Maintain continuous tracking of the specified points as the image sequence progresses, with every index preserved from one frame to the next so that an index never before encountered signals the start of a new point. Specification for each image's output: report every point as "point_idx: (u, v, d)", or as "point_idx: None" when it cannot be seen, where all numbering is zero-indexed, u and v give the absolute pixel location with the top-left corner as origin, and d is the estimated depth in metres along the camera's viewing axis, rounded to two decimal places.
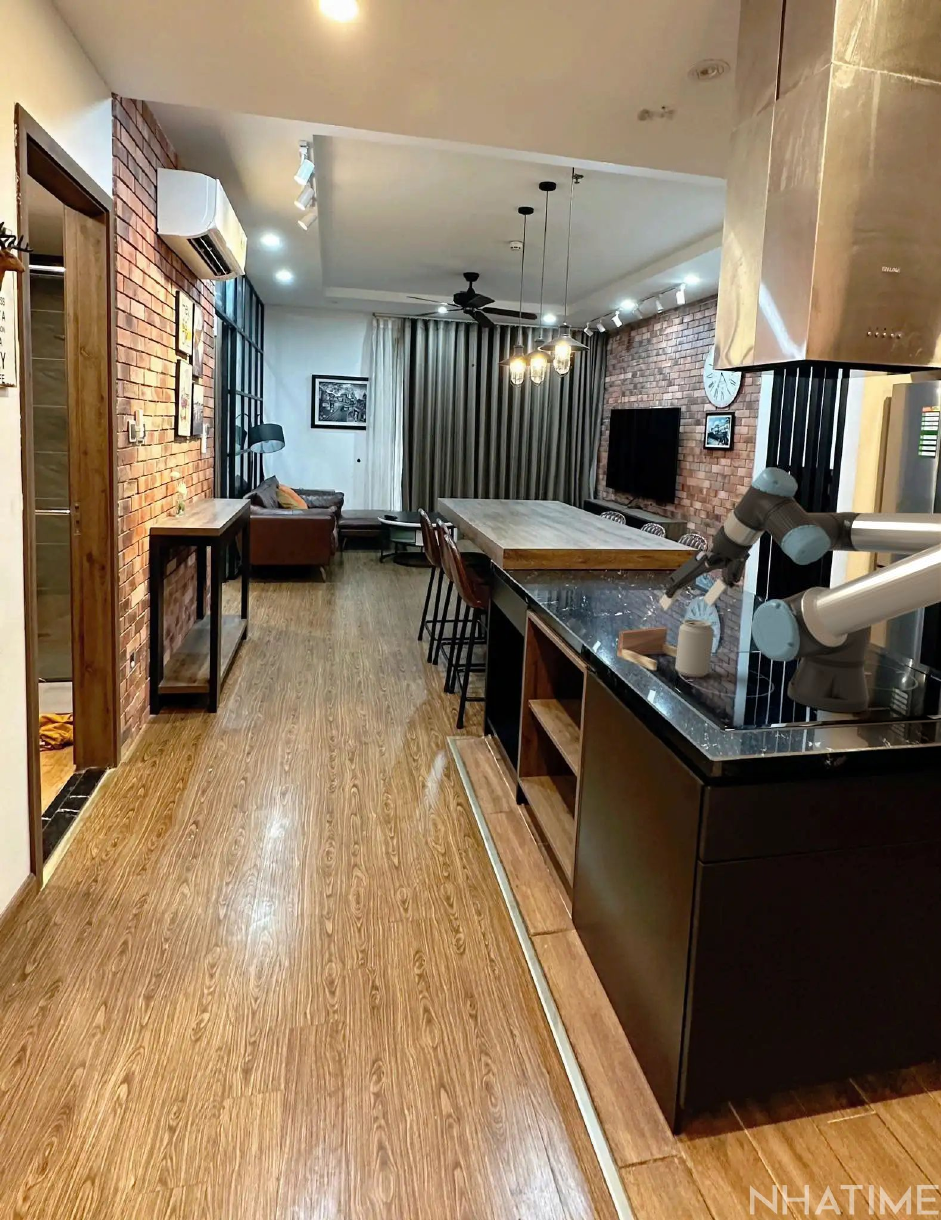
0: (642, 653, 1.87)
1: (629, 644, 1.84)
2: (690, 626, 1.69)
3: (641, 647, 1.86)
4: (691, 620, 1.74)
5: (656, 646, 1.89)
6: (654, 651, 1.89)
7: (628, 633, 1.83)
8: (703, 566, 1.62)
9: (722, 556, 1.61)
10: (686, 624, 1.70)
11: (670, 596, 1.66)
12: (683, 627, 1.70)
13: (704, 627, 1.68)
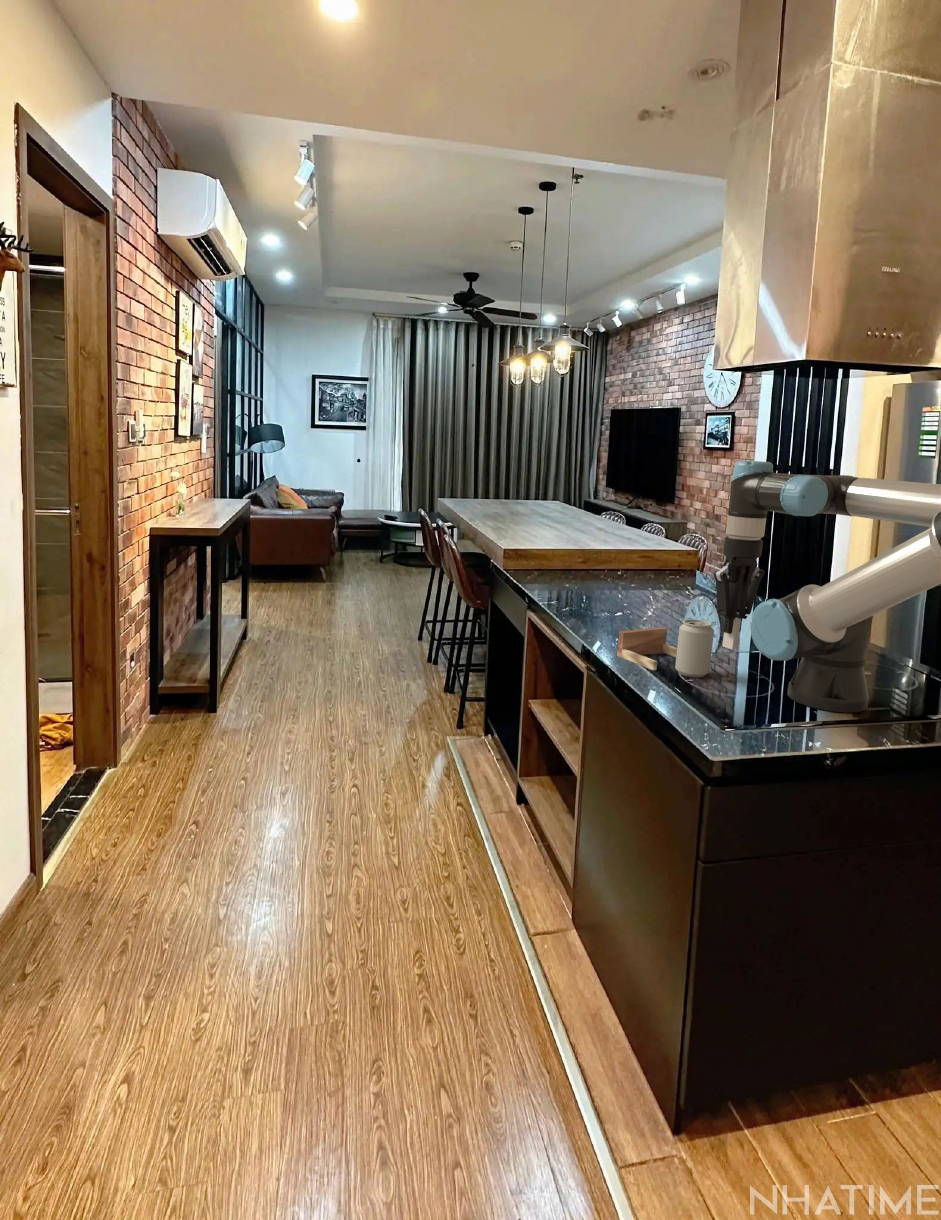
0: (642, 653, 1.87)
1: (629, 644, 1.84)
2: (690, 626, 1.69)
3: (641, 647, 1.86)
4: (691, 620, 1.74)
5: (656, 646, 1.89)
6: (654, 651, 1.89)
7: (628, 633, 1.83)
8: (733, 585, 1.59)
9: (737, 559, 1.57)
10: (686, 624, 1.70)
11: (729, 630, 1.61)
12: (683, 627, 1.70)
13: (704, 627, 1.68)
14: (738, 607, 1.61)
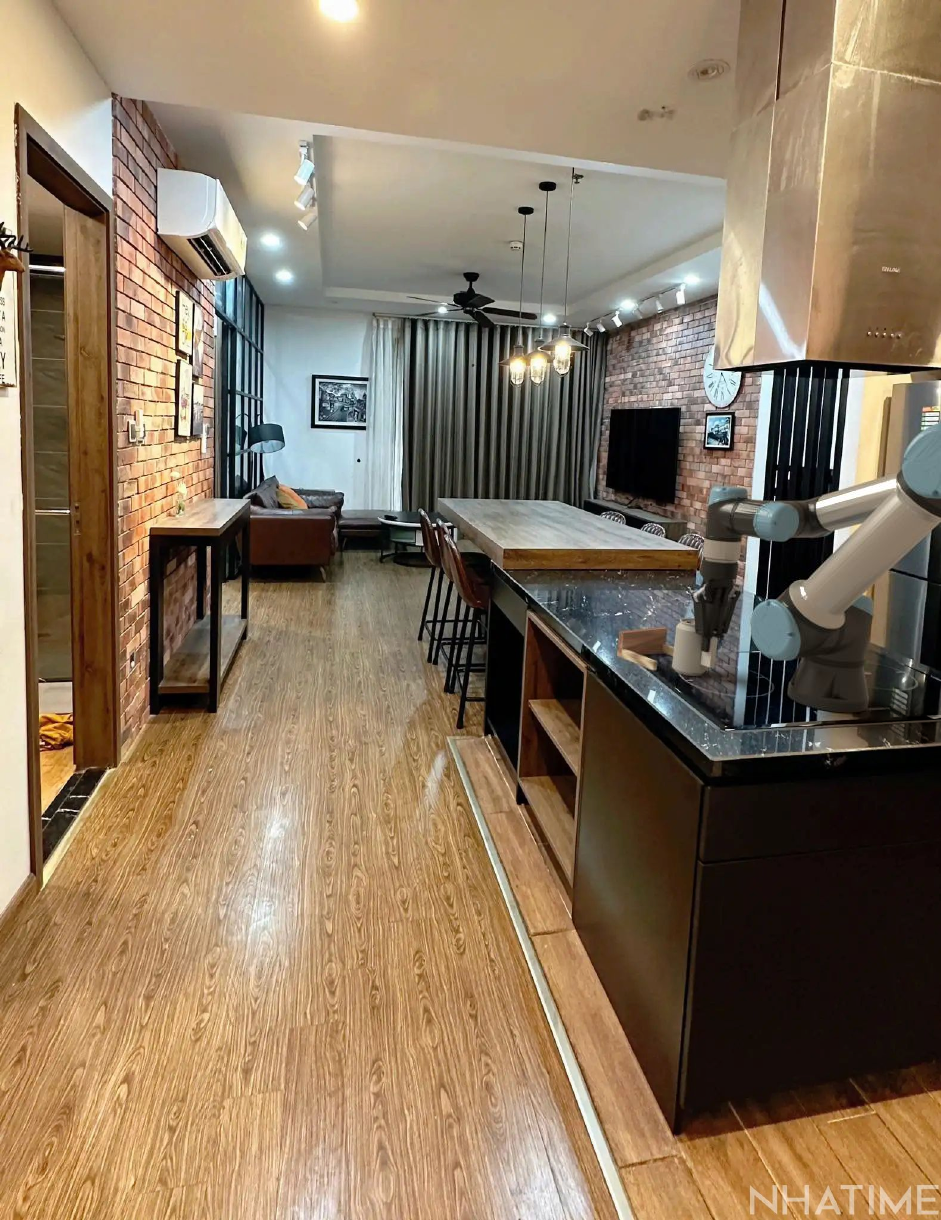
0: (642, 653, 1.87)
1: (629, 644, 1.84)
2: (687, 625, 1.70)
3: (641, 647, 1.86)
4: (688, 619, 1.74)
5: (656, 646, 1.89)
6: (654, 651, 1.89)
7: (628, 633, 1.83)
8: (710, 606, 1.65)
9: (714, 581, 1.63)
10: (683, 623, 1.71)
11: (707, 649, 1.67)
12: (680, 626, 1.71)
13: None
14: (715, 627, 1.67)
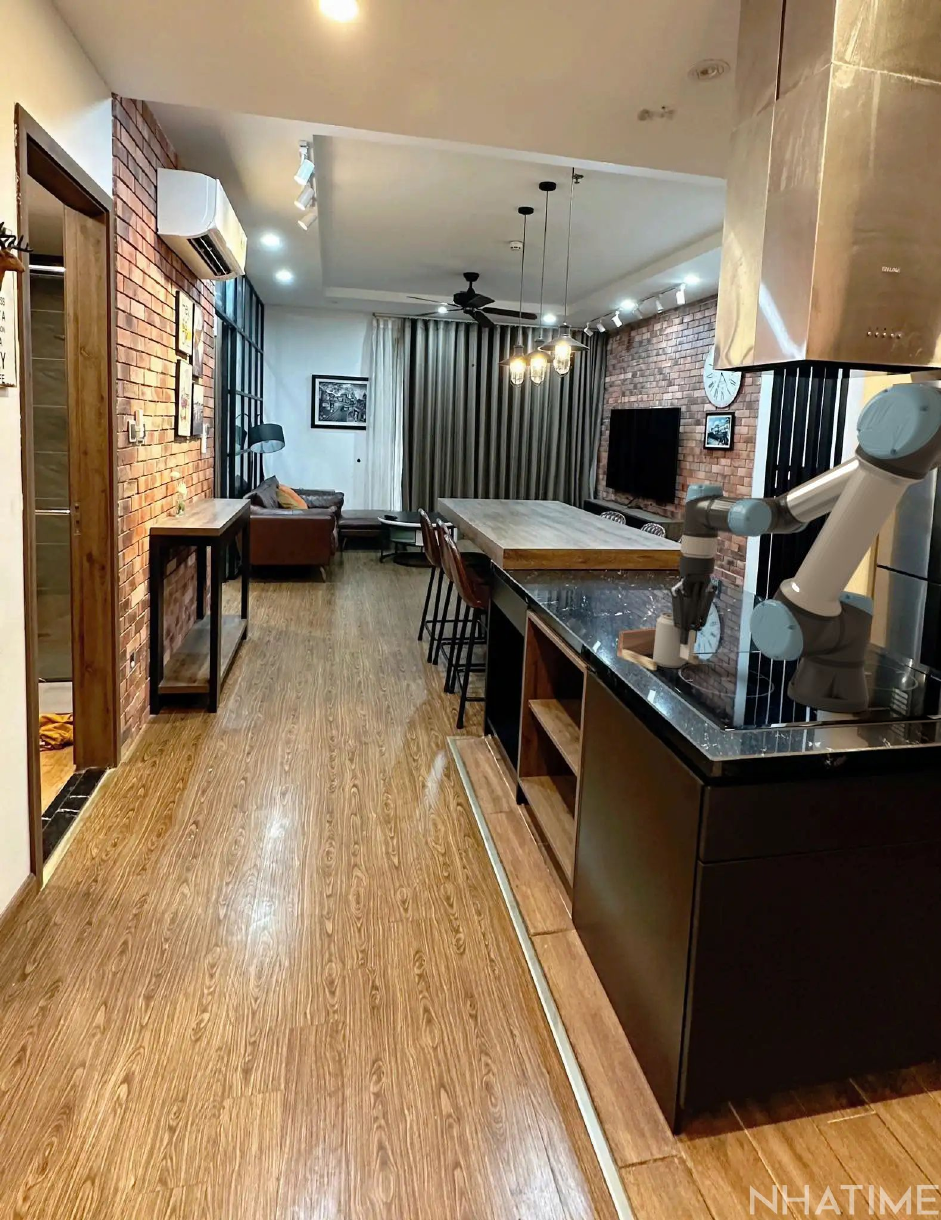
0: (642, 653, 1.87)
1: (629, 644, 1.84)
2: (666, 618, 1.75)
3: (641, 647, 1.86)
4: (669, 613, 1.80)
5: None
6: None
7: (628, 633, 1.83)
8: (688, 600, 1.70)
9: (691, 575, 1.68)
10: (662, 616, 1.76)
11: (685, 642, 1.72)
12: (660, 619, 1.77)
13: None
14: (693, 620, 1.73)
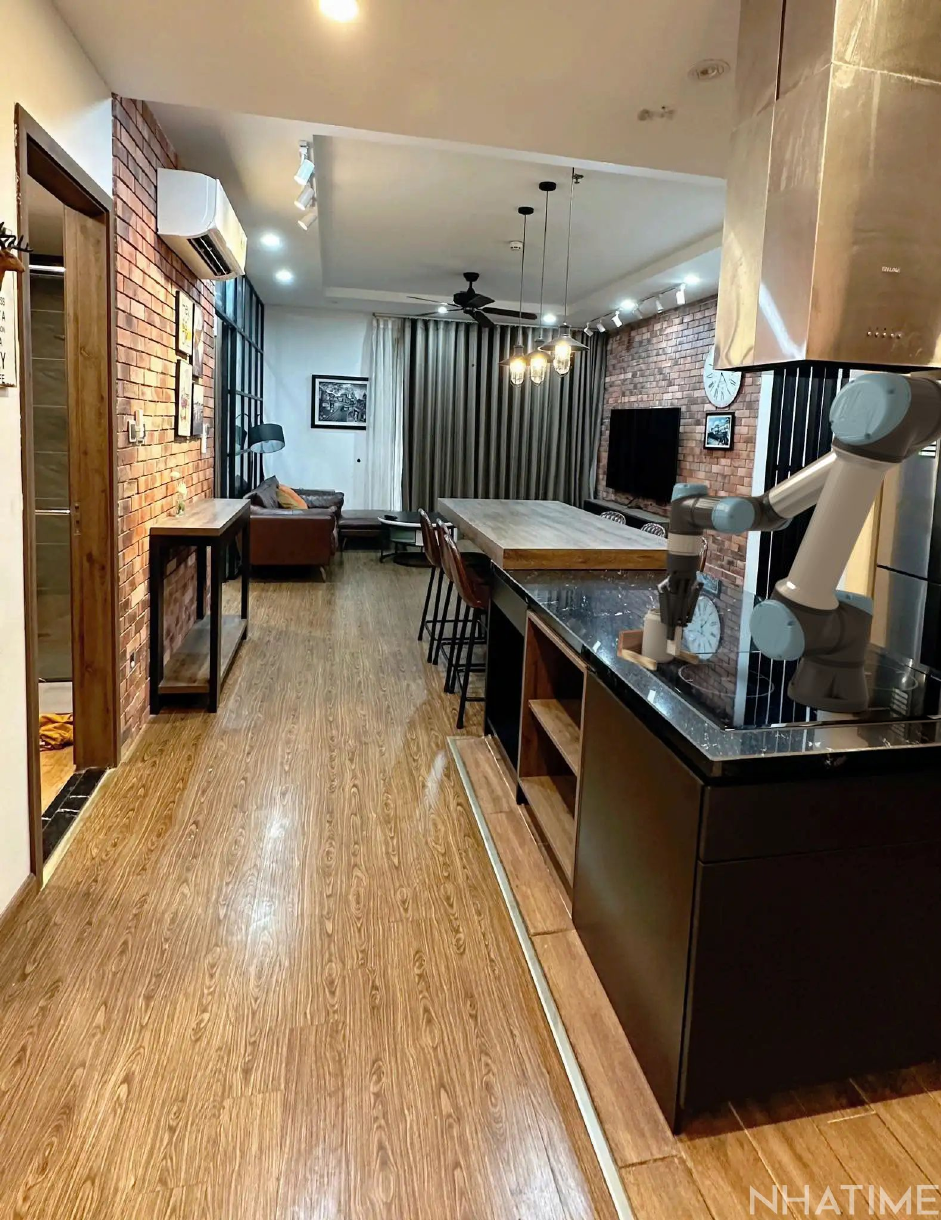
0: None
1: (629, 644, 1.84)
2: (653, 614, 1.79)
3: (641, 647, 1.86)
4: (657, 609, 1.83)
5: None
6: None
7: (628, 633, 1.83)
8: (674, 596, 1.74)
9: (677, 572, 1.72)
10: (650, 612, 1.80)
11: (672, 638, 1.76)
12: (647, 615, 1.81)
13: None
14: (680, 616, 1.76)
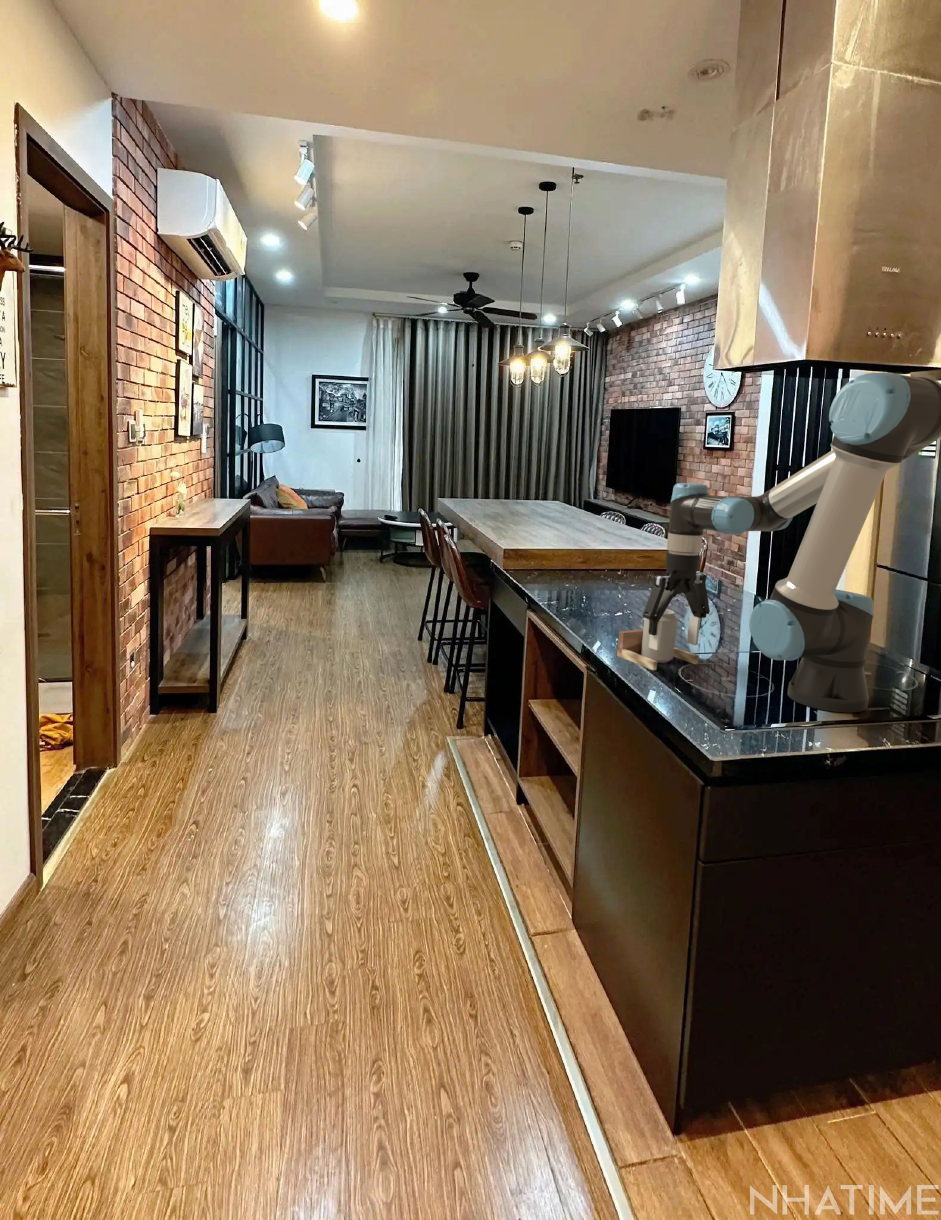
0: None
1: (629, 644, 1.84)
2: None
3: (641, 647, 1.86)
4: None
5: None
6: None
7: (628, 633, 1.83)
8: (668, 593, 1.73)
9: (679, 575, 1.73)
10: None
11: (654, 632, 1.73)
12: None
13: (666, 615, 1.78)
14: (695, 610, 1.79)
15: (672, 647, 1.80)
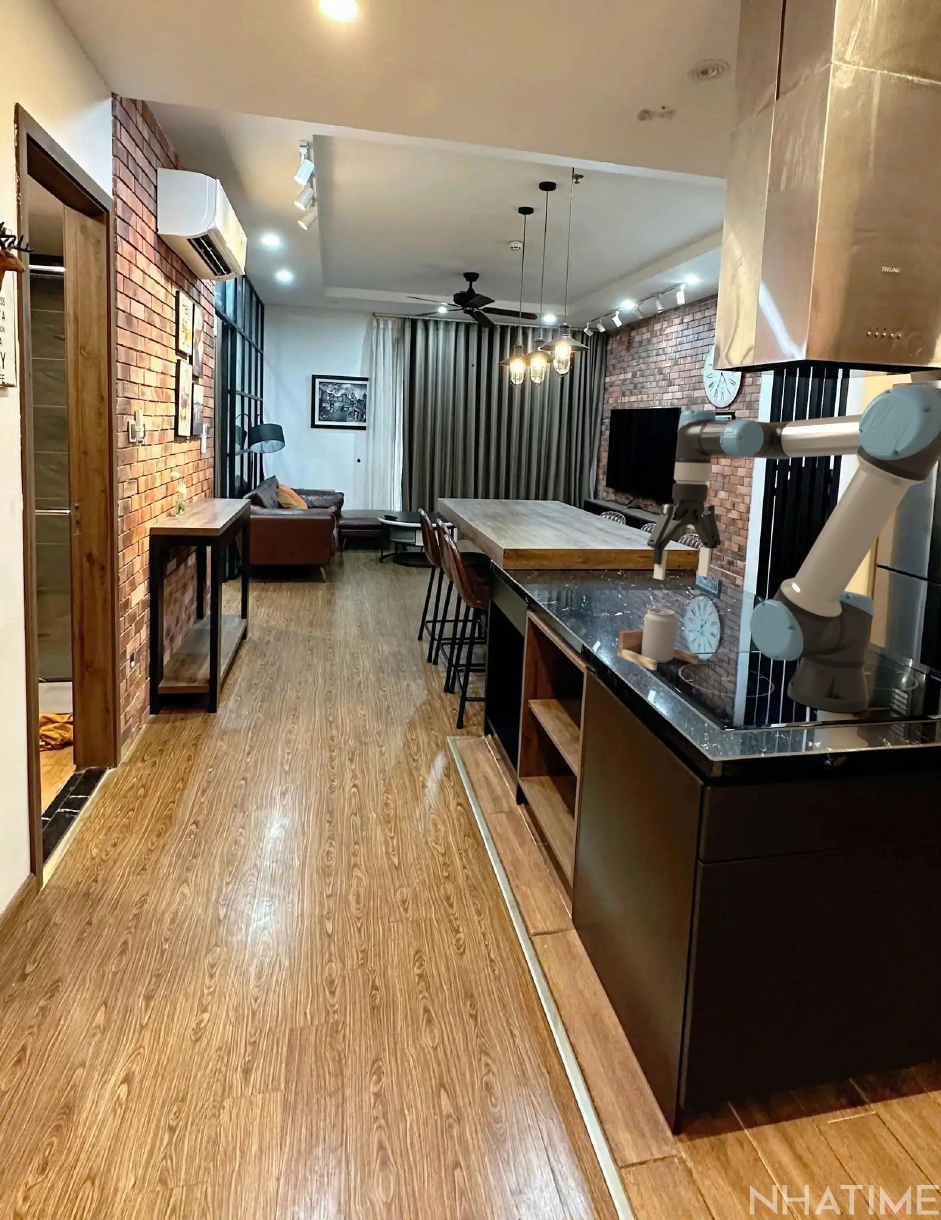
0: None
1: (629, 644, 1.84)
2: (653, 614, 1.79)
3: (641, 647, 1.86)
4: (657, 609, 1.84)
5: None
6: None
7: (628, 633, 1.83)
8: (675, 522, 1.69)
9: (687, 506, 1.69)
10: (650, 612, 1.80)
11: (659, 561, 1.69)
12: (647, 615, 1.81)
13: (666, 615, 1.78)
14: (706, 541, 1.75)
15: (672, 647, 1.80)
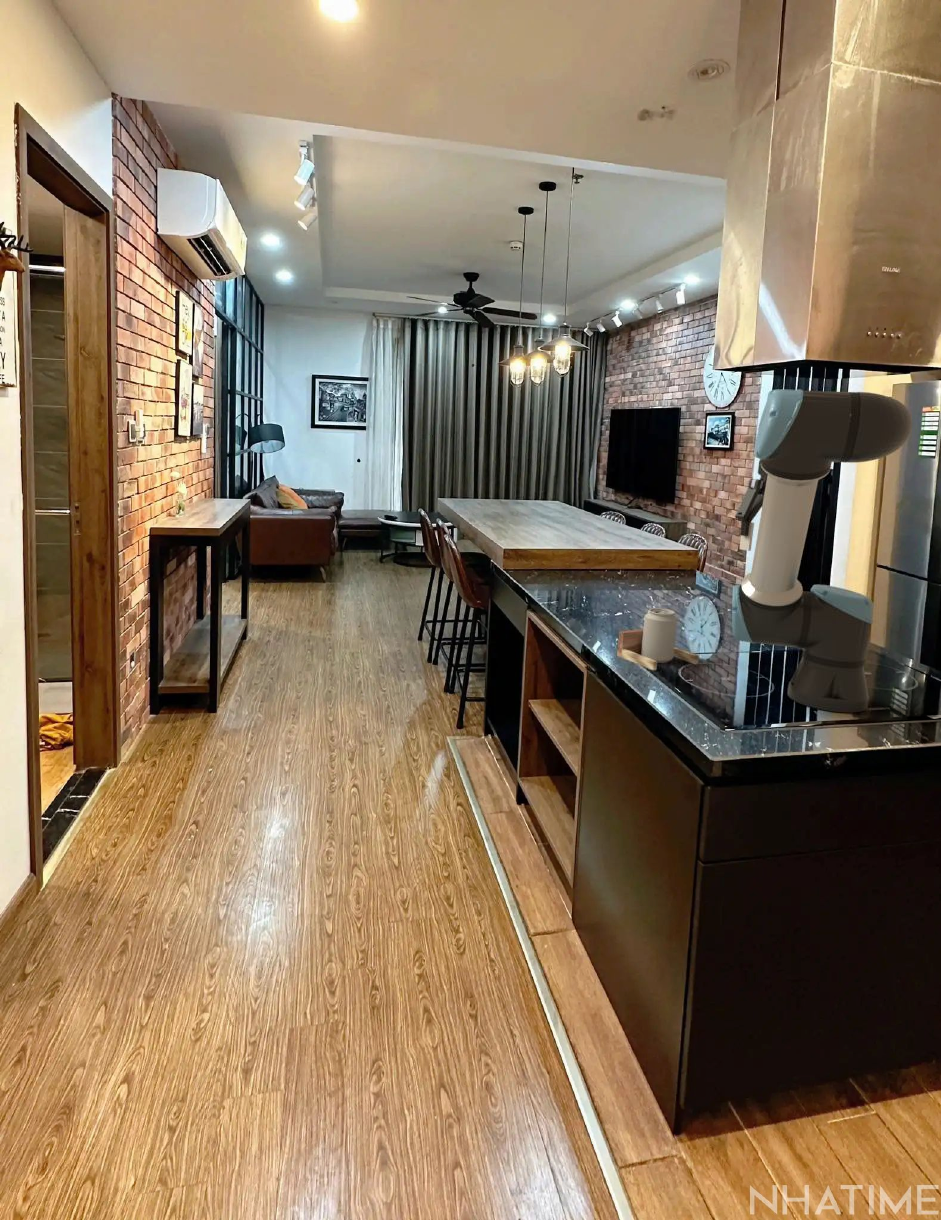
0: None
1: (629, 644, 1.84)
2: (653, 614, 1.79)
3: (641, 647, 1.86)
4: (657, 609, 1.84)
5: None
6: None
7: (628, 633, 1.83)
8: (761, 496, 1.79)
9: None
10: (650, 612, 1.80)
11: (746, 533, 1.79)
12: (647, 615, 1.81)
13: (666, 615, 1.78)
14: None
15: (672, 647, 1.80)
